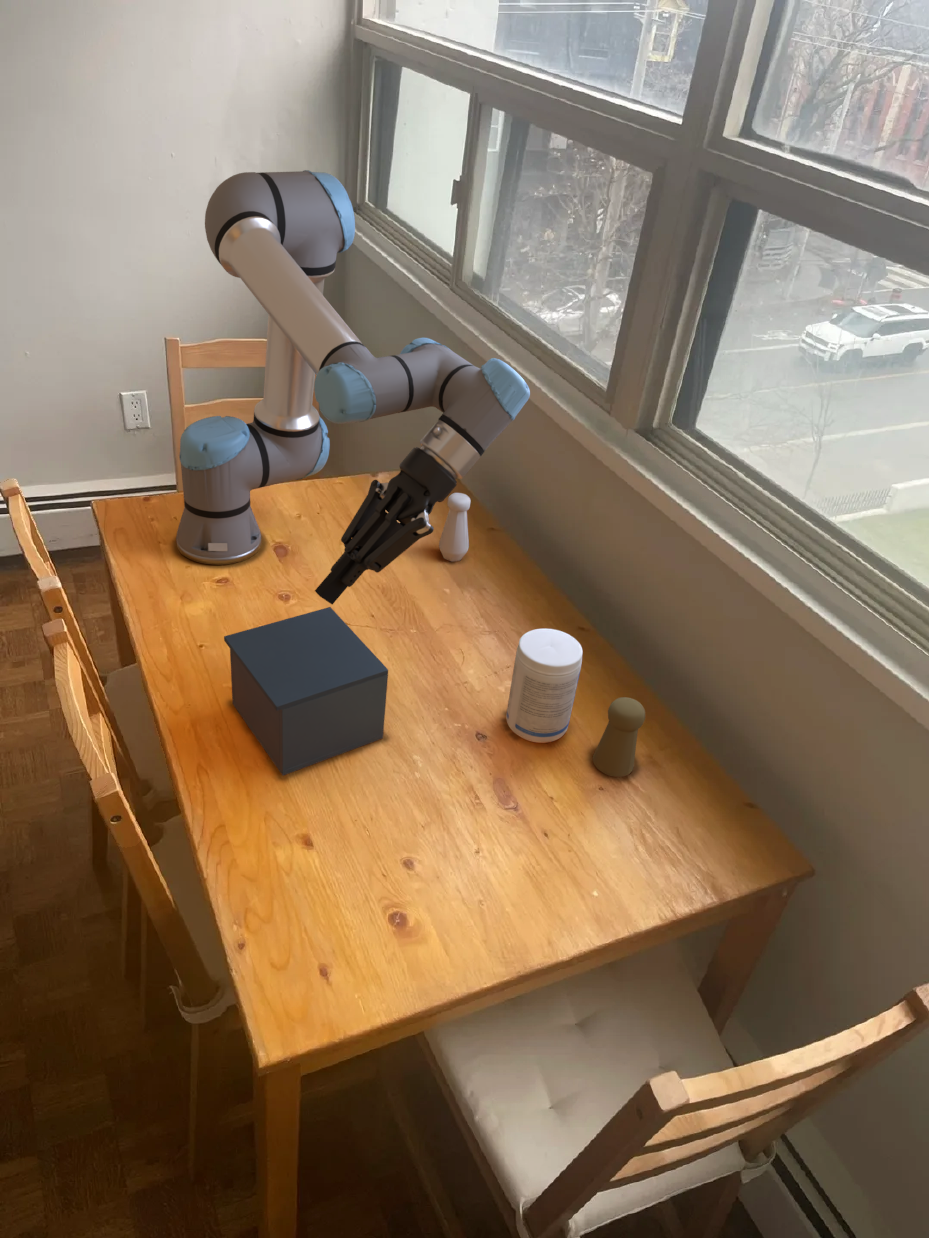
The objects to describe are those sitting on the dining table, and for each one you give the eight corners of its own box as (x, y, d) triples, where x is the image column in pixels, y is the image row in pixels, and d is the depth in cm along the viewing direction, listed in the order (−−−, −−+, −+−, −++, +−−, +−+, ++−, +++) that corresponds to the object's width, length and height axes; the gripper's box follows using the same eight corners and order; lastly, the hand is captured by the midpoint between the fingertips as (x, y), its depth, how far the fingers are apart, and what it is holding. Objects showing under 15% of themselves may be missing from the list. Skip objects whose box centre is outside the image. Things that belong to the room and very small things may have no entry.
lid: (276, 711, 115) (276, 706, 115) (223, 640, 126) (223, 636, 125) (388, 674, 124) (388, 669, 123) (330, 610, 134) (330, 606, 134)
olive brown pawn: (585, 751, 133) (600, 694, 127) (621, 744, 135) (637, 688, 129) (604, 780, 129) (620, 722, 122) (641, 772, 131) (658, 715, 124)
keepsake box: (282, 776, 122) (282, 709, 116) (232, 704, 133) (229, 639, 126) (383, 738, 131) (388, 674, 124) (328, 673, 141) (330, 611, 134)
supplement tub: (579, 733, 136) (598, 656, 128) (530, 753, 131) (546, 675, 123) (540, 696, 142) (556, 620, 134) (492, 714, 138) (505, 636, 129)
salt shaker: (471, 562, 173) (480, 502, 166) (444, 565, 171) (451, 505, 164) (460, 547, 178) (468, 487, 170) (433, 549, 176) (439, 490, 168)
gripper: (396, 428, 121) (283, 562, 122) (451, 468, 113) (329, 611, 114) (426, 458, 127) (317, 585, 128) (480, 498, 119) (364, 634, 119)
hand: (323, 597), depth 121 cm, fingers closed
